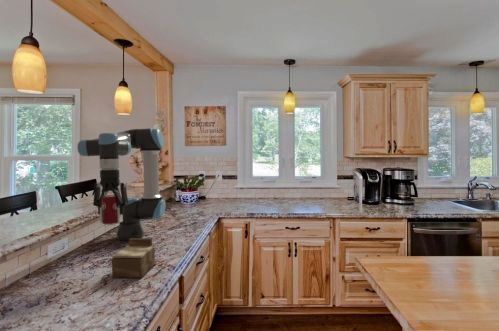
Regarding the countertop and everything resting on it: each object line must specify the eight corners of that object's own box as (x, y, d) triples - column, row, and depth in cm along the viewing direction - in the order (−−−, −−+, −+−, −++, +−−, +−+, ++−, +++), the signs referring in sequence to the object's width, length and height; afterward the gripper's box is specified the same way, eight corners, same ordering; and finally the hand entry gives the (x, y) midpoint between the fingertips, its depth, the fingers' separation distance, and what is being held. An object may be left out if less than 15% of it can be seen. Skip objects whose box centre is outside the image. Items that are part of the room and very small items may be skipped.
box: (129, 265, 132) (128, 247, 131) (155, 265, 131) (154, 247, 130) (112, 278, 118) (111, 259, 117) (141, 278, 117) (140, 259, 116)
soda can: (100, 225, 122) (99, 197, 122) (104, 222, 129) (103, 195, 129) (118, 224, 124) (117, 196, 123) (122, 220, 131) (121, 194, 131)
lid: (128, 246, 132) (128, 238, 131) (154, 246, 131) (154, 238, 131) (112, 257, 118) (111, 248, 117) (141, 258, 117) (140, 248, 117)
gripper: (81, 170, 123) (84, 223, 124) (127, 169, 121) (129, 224, 122) (92, 169, 130) (95, 219, 131) (136, 168, 129) (138, 220, 129)
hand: (111, 221), depth 127 cm, fingers closed on soda can, 7 cm apart
